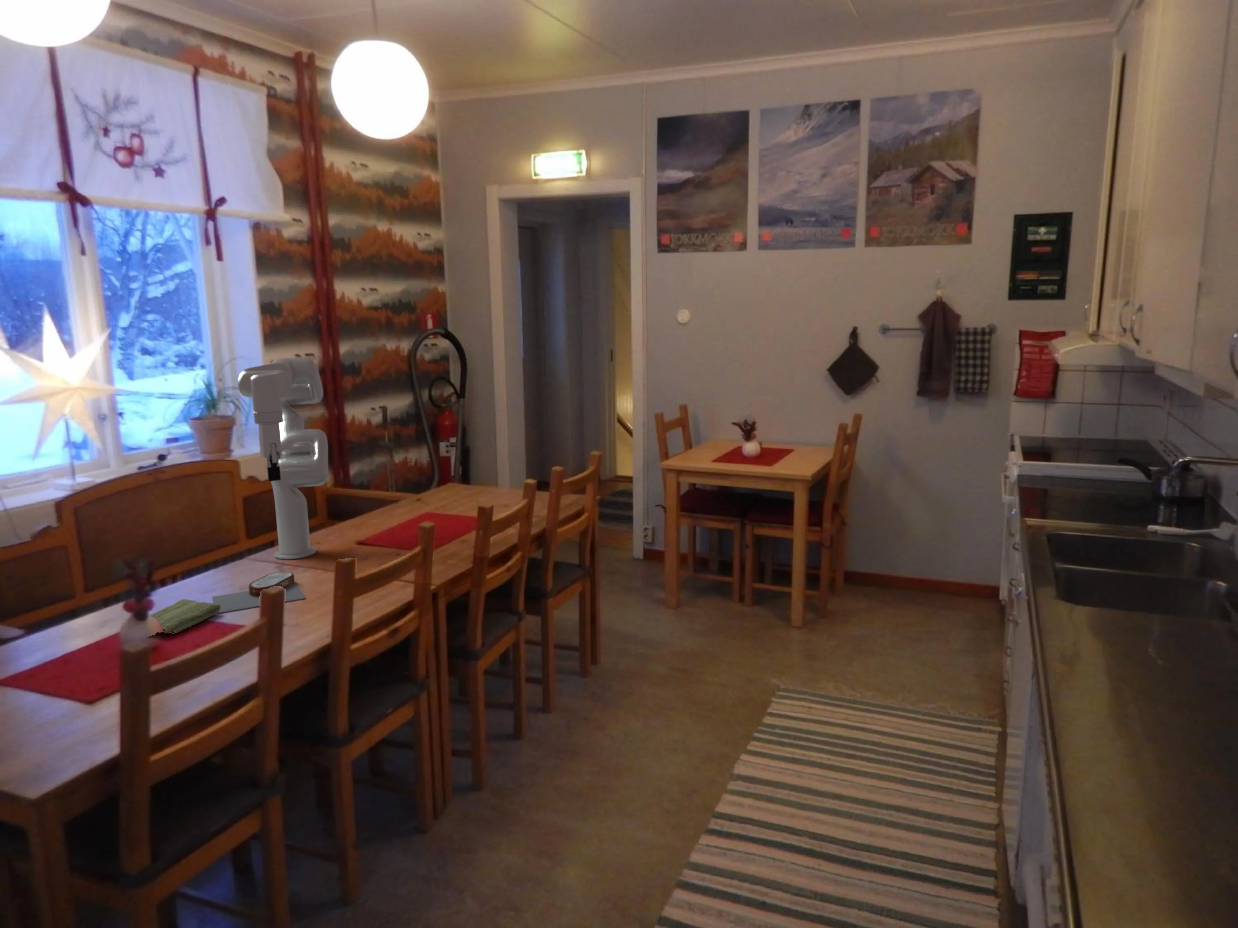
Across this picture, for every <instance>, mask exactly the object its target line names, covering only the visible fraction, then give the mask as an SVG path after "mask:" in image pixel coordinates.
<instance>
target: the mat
mask: <svg viewBox="0 0 1238 928" xmlns="http://www.w3.org/2000/svg"><path fill="white" fill-rule="evenodd" d="M285 589H286V602H285V603H290V602H295V601H301V600H306V599H307V598H306V596H305V595H304V593H303V591H302V590H301V588H300V587H299V585H298V583H296V582H295V583H294V584H293V585H291V586H289V587H287V588H285ZM211 597H212V603H215V604H219V605H220V607H221V608H220V610H219V611H218V613H216V614H217V615H218V614H224V613H231V612H236V611H243V610H248V609H254V608H260V607H259V596H251V595H249V590H245V591H239V592H233V593H228V594H227V593H226V594H221V595H220V594H219V595H214V596H211Z"/></svg>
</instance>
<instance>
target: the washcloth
mask: <svg viewBox="0 0 1238 928" xmlns="http://www.w3.org/2000/svg"><path fill="white" fill-rule="evenodd" d="M220 608H221V607H220V605H219V604H215V603H214V602H203V601H201V602H200V601H196V600H194V599H187V598H186V599H185V598H184V599H179V600H177V602H175V603H173V604H172V605H169V606H165V607H164V608H162V609H160V610H158V611H157V612H154V613H152V614H149V615H150V616H151V617H153V618H155V619H157V620H158V621H159V622H160V624H161V627H162V629H163V632H164V633H163V634H167V632H172V633H176V632H179V631H182V630H183V629H185V630H187V629H186V628H188V627H189V628H191V627H193V626H195V625H196V624H199V623H201V622H204V621H205V620H208V618H211V617H213V616H215V614H217V613H218V611H219V610H220ZM192 625H193V626H192ZM189 628H188V629H189ZM183 631H184V630H183ZM183 631H182V632H183Z"/></svg>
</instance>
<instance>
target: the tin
mask: <svg viewBox="0 0 1238 928" xmlns="http://www.w3.org/2000/svg"><path fill="white" fill-rule="evenodd" d="M294 583H296V582H295V575H294V573H293V572H286V571H285V572H284V571H277V572H271V573H268V574H266V575H264V576H262V577H259V578H258V579H255V580H254V581H251V582H250V583H249V584H248V591H249V595H251V596H260V592H261V591H262V590H263V589H268V588H270V587H273V586H281V587H283V588H284V589H285V588H287V587H289V586H291V585H293V584H294Z"/></svg>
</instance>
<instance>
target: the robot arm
mask: <svg viewBox="0 0 1238 928" xmlns="http://www.w3.org/2000/svg"><path fill="white" fill-rule="evenodd" d="M237 387H238V391H239V392H240V394H241V395H242V396H243V397H245V398H246V397H247V398H252V407H253V417H254V419H253V420H254V424H255V425H258V440H259V452H260V455H261V457H262V458H263V459H264V460H266V463H267V466H266V469H267V480H268V481H269V482H270V483H271V486H272V492H273V497H274V498H273V499H274V507H275V517H276V519H275V520H276V531H277V539H278V540H277V541H278V542H277V543H278V549H276V550H275V551H274V553H273V555H274V558H277V559H279V560H294V559H303V558H307V557H310V556H313V555H314V554H315V553H316V552H317V550H316V547H314V546H312V545H311V538H310V527H309V525H310V524H309V514H308V513H309V512H308V503H307V499H306V498H307V497H305V495H304V494H303V492H301V490H300V489H298V488H302V487H303V488H304V487H305V488H306V487H321V486H323V485H325V484H326V483H327V481H328V475H329V443H328V442H329V441H328V437H327V435H326V433H325V432H324V431H323V430H321V429H318V428H305V419H304V417H303V416H302V415H301V414H300V413H299V412H298V411H297V410H296V409H295V408H293V407H292V406H290V405H309V404H311V405H314V404H318V403H321V401H322V400H323V397H324V388H323V383H322V379H321V376H320V372H319V369H318V366H317V364H316V363H315V361H314V360H313V359H311V358H309V357H284V358H283V357H282V358H277V359H275V360H274V361H272V362H271V363H268V364H262V365H256V366H253V367H248V368H244V370H242V371H241V372H240V373H239V375H238V379H237Z"/></svg>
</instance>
